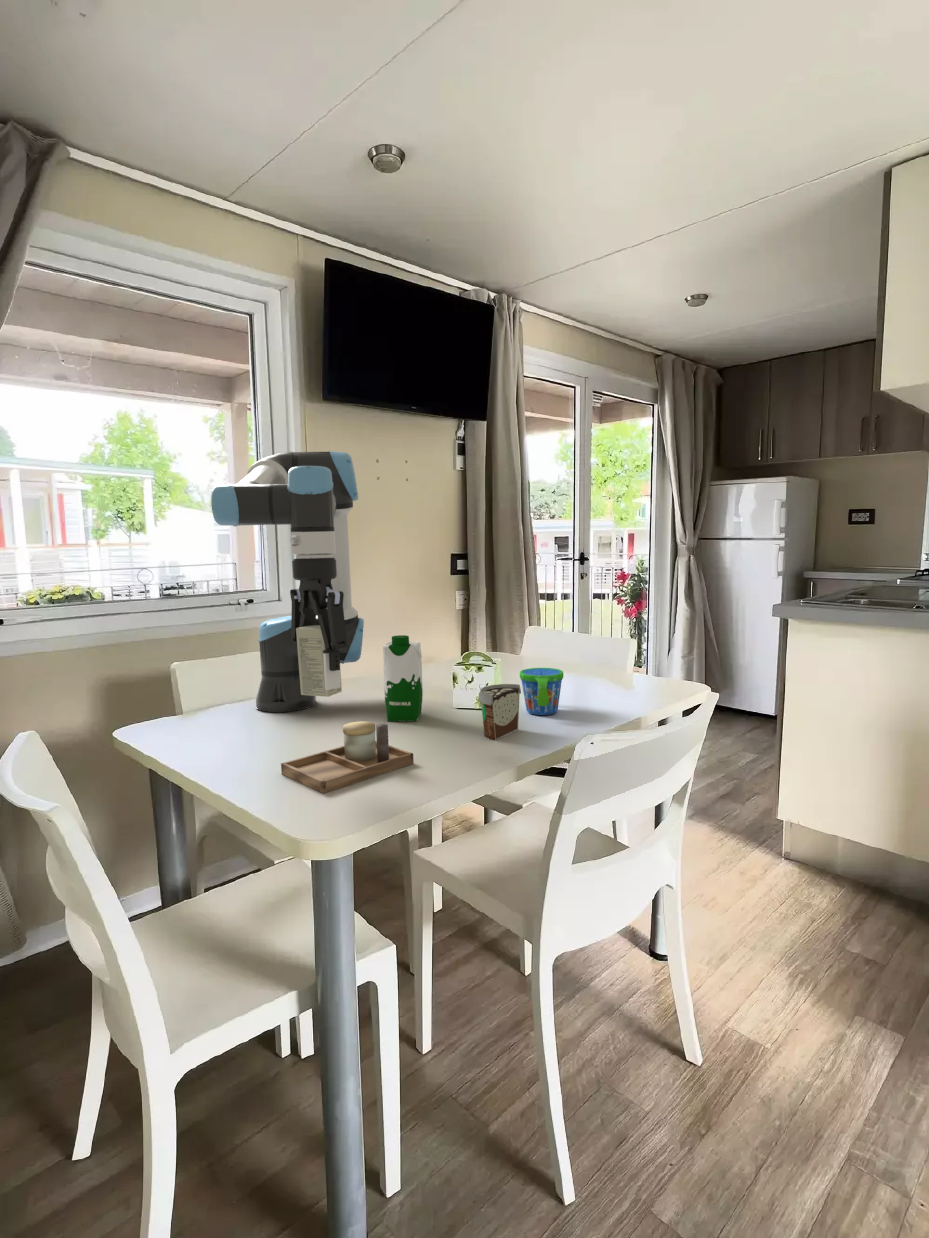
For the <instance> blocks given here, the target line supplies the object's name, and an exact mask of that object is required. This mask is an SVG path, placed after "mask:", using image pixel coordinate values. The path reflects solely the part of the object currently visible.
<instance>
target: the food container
mask: <svg viewBox="0 0 929 1238" xmlns="http://www.w3.org/2000/svg"><path fill="white" fill-rule="evenodd" d="M520 694H522V691H521V684H516V683H515V684H514V683H500V684H491V685H487V686H483V687H481V689H480V691H479V692H478V698H477V701H478V702H479V703H480V705H481V715H482V722H483V732H484V733H483V734H484V737H485V738H486V737H487V739H488V738H489V739H488V740H491V741H495V740H496V741H498V740H500V739H502V738H503V736H504V737H506V736H508V735H510V734H512V733H514V732H516V731H518V730H519V718H520V717H519V715H520V714H519V713H520V711H519V710H520ZM515 730H516V731H515ZM513 731H514V732H513ZM511 732H512V733H511ZM509 733H510V734H509ZM507 734H508V735H507ZM505 735H506V736H505ZM501 737H502V738H501ZM499 738H500V739H499ZM497 739H498V740H497Z"/></svg>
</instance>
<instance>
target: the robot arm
mask: <svg viewBox="0 0 929 1238" xmlns="http://www.w3.org/2000/svg"><path fill="white" fill-rule="evenodd" d="M355 473H356V472H355V468H354V462H353V459H352V456H351V455H350V454H349V453H348V452H343V451H333V450H329V451H285V452H280V453H274V454H271V455H268V456H266V457H263V458H261V459H259V460H257V461H256V462H255V463H253V464H252V465H250V467H249V468H248V471H247V473H246V476H245V477H243V478H242V479H241V480H240V481H239V482H237V483H236V484H235V483H234V484H233V483H232V484H231V483H227V484H217V485H215V486H214V487H213V488H212V491H211V495H210V498H211V501H210V502H211V503H210V504H211V511H212V512H211V513H212V516H213V520H214V521H215V523H216V524H217V525H219V526H233V527H238V526H239V527H240V526H267V525H268V526H270V525H274V526H275V525H277V526H278V525H280V526H281V525H282V526H285V525H289V526H290V532H291V533H290V535H291V537H290V540H289V541H290V543H291V555H292V556H295V558H293V560H292V561H291V562H292V563H291V564H292V565H291V566H292V578H293V580H295V581H299V586H298V587H299V588H295V589H293V588H292V589H290V590H289V595H290V600H291V615H287V616H280V617H276V618H271V619H268V620H265V621H263V622H262V623H261V624H260V625H259V627H258V634H259V635H258V643H259V653H260V654H259V655H260V656H259V657H260V673H261V675H260V676H261V680H260V683H259V687H258V691H257V693H256V699H255V708H256V707H257V708H258V709H259V710H258V709H257V708H256V709H257V710H258V711H261V710H263V711H262V712H266V711H267V713H285V712H294V711H295V712H296V711H301V710H304V709H305V710H306V709H308V708H311V707H314V705H316V704H317V696H310V695H301V688H300V675H299V661H298V648H297V635H296V628H299V627H304V626H320V628H321V632H322V636H323V640H324V644H325V648H326V650H323V660H324V680H325V690H331V689H336V688H340V672H341V664H342V665H344V664H348V663H356V662H358V661H359V660H360V659H361V656H362V650H363V639H364V626H365V625H364V624H365V622H364V621H365V620H364V618H363V617H359V611H358V610H357V609H356V608H354V607H353V605H352V603H353V602H352V587H351V586H352V585H351V584H352V581H351V565H350V562H351V561H350V546H349V545H350V544H349V543H350V542H349V524H348V522H349V521H348V514H349V513H350V512H351V511H352V510H353V508H354V502H355V501H358V500H359V492H358V487H357V486H358V485H357V479H356V474H355Z"/></svg>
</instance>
